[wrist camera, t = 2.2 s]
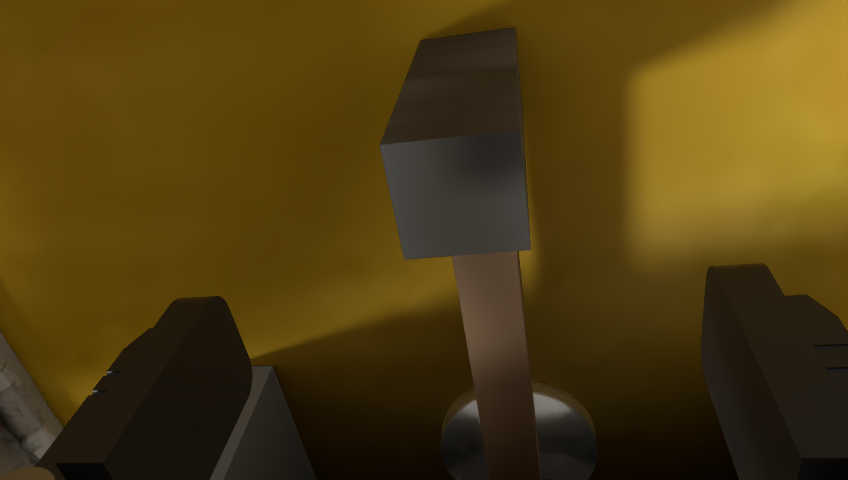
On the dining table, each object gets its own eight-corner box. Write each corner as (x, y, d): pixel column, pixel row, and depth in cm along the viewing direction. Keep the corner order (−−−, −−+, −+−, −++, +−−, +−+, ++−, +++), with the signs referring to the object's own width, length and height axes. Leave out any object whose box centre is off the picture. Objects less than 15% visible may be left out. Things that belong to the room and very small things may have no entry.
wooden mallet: (423, 515, 34) (403, 683, 27) (301, 56, 21) (208, 163, 15) (638, 514, 32) (673, 695, 26) (649, 9, 19) (725, 107, 13)
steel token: (453, 477, 33) (451, 504, 31) (432, 377, 29) (429, 402, 28) (595, 475, 31) (599, 502, 30) (592, 370, 28) (596, 396, 26)
